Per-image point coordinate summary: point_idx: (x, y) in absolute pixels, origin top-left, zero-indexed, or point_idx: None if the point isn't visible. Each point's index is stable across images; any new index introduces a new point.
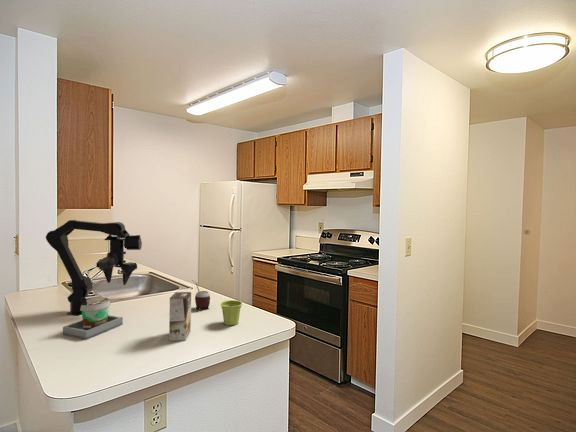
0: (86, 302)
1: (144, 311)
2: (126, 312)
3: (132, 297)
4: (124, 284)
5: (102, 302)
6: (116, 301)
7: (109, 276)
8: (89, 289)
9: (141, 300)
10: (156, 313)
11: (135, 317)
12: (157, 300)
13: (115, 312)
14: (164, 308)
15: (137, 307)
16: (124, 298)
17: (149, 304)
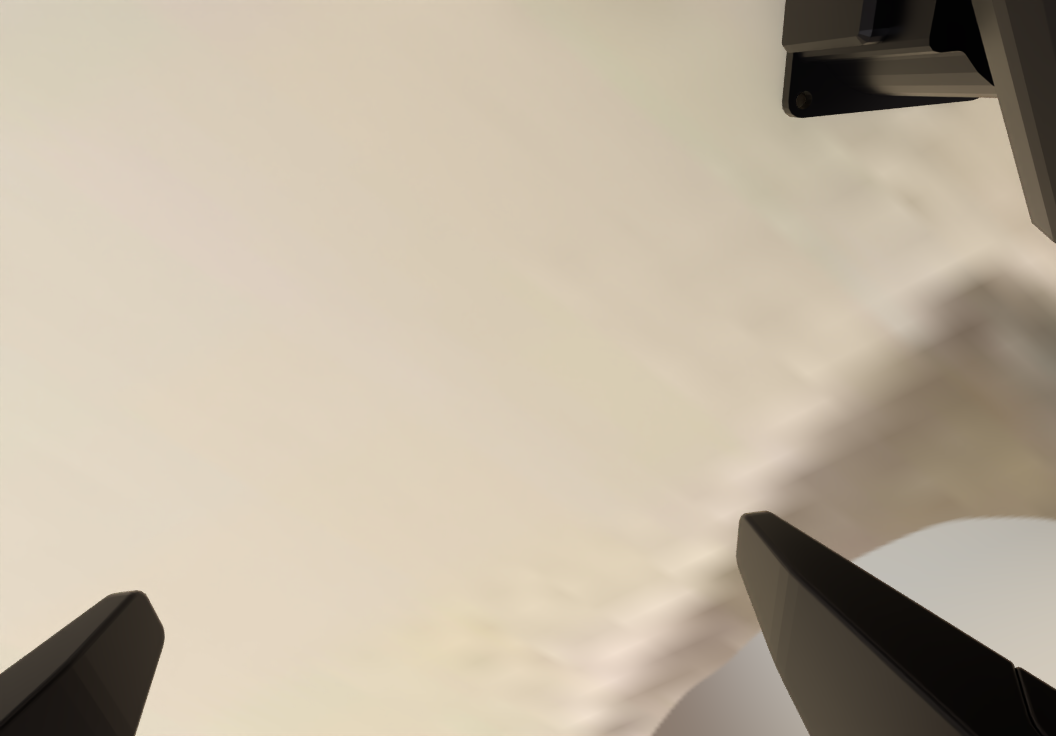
0: (884, 48)
1: (199, 458)
2: (336, 336)
3: (723, 652)
4: (109, 612)
5: None
6: None
7: (854, 728)
8: (1045, 57)
9: (567, 642)
10: (18, 479)
11: (46, 265)
12: (432, 705)
13: (452, 268)
14: None
15: (400, 503)
16: None
17: (385, 611)
